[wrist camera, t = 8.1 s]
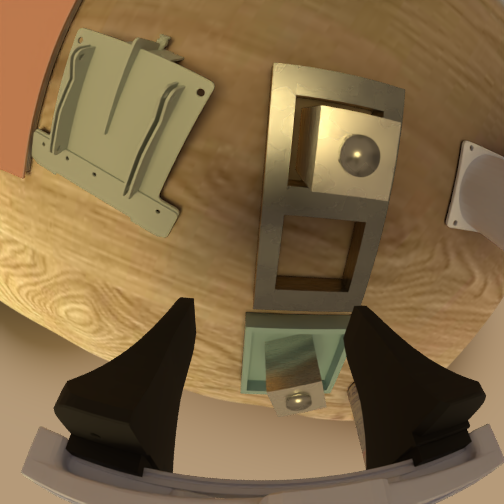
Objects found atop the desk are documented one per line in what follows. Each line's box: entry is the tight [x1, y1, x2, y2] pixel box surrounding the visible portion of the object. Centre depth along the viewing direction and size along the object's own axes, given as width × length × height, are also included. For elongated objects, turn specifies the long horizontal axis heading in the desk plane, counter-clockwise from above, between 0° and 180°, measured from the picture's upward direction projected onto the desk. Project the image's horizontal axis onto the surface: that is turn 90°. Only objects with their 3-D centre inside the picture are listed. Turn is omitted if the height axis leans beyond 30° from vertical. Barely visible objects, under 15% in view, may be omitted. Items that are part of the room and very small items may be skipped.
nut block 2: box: [295, 105, 401, 201], centre depth 16 cm, size 4×4×6 cm
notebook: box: [0, 0, 82, 178], centre depth 11 cm, size 27×17×2 cm, turn 157°
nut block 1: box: [264, 334, 326, 417], centre depth 24 cm, size 4×4×6 cm
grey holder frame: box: [253, 63, 405, 312], centre depth 19 cm, size 9×18×2 cm, turn 176°
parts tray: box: [241, 312, 351, 394], centre depth 27 cm, size 10×10×2 cm
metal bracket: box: [32, 28, 215, 237], centre depth 17 cm, size 14×6×15 cm
